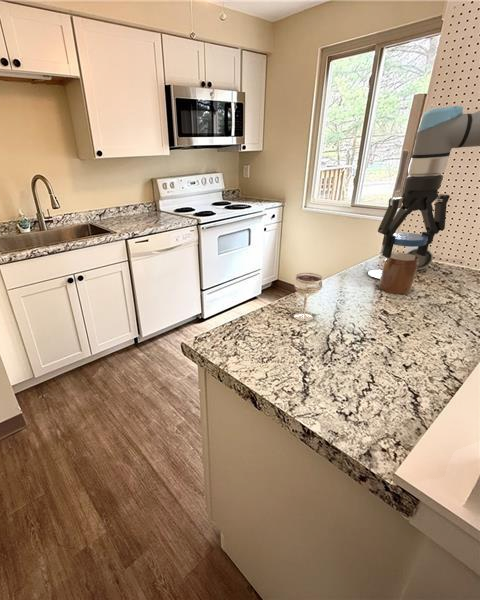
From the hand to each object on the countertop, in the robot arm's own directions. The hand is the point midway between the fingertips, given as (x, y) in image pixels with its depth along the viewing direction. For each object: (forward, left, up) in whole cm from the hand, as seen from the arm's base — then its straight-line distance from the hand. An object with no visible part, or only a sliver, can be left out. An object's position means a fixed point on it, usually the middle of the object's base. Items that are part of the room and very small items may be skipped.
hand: (403, 255), depth 92 cm
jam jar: (0, 0, -11) cm, 11 cm away
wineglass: (-4, +36, -11) cm, 38 cm away
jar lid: (0, 0, +5) cm, 5 cm away
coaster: (+9, -7, -11) cm, 16 cm away
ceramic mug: (+12, -21, -11) cm, 27 cm away
